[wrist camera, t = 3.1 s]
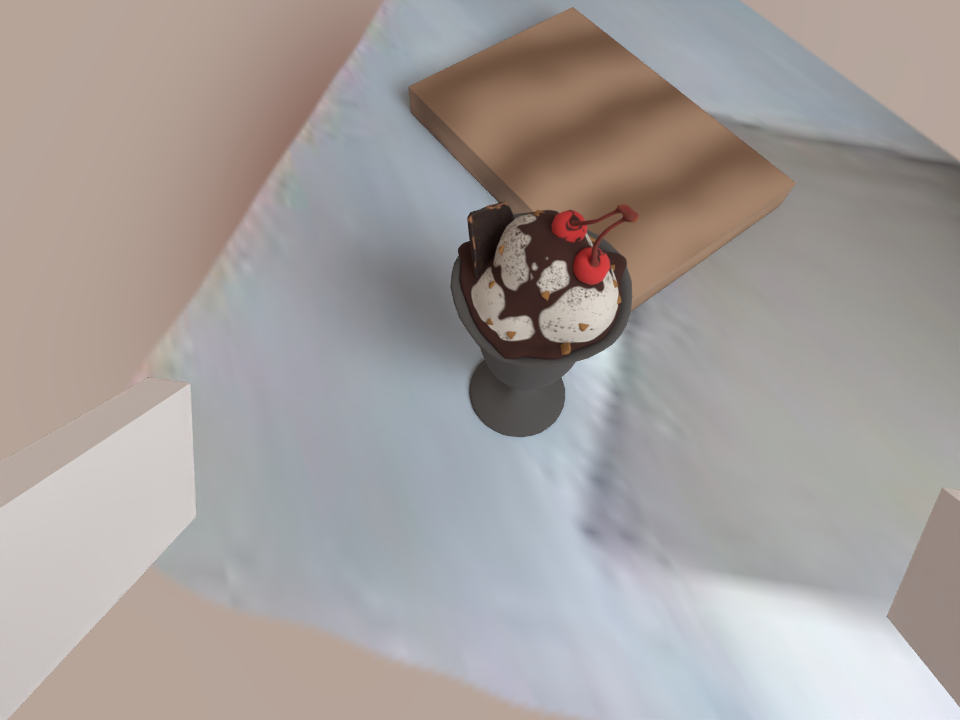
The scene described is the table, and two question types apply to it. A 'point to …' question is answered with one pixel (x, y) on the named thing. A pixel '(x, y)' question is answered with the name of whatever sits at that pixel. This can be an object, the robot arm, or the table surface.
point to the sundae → (536, 307)
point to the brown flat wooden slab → (599, 146)
